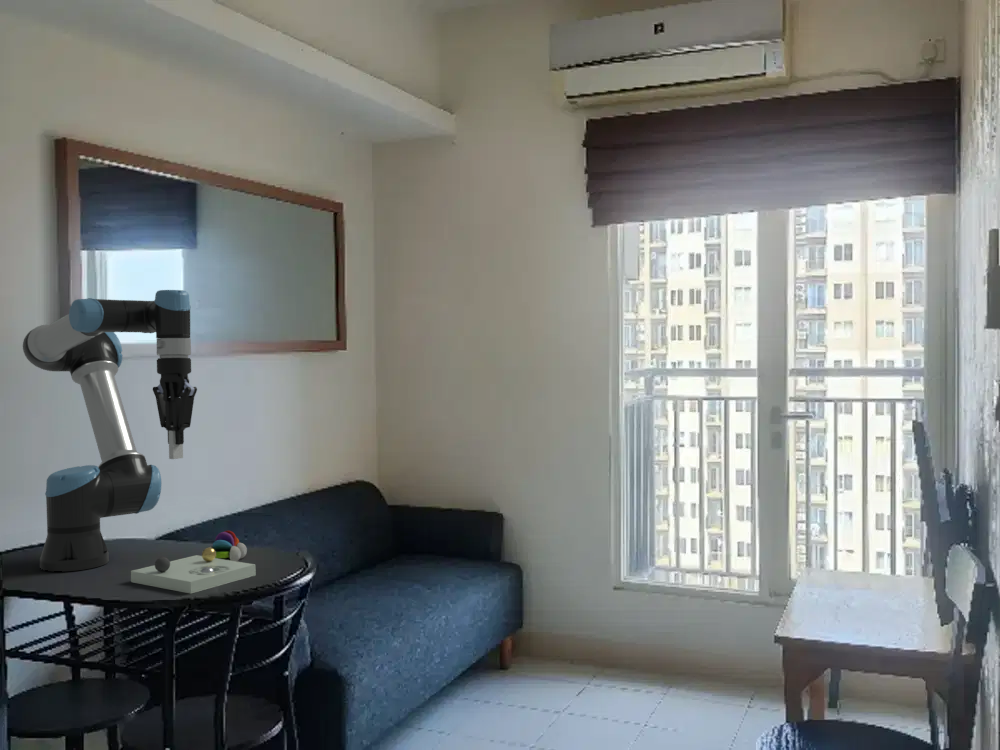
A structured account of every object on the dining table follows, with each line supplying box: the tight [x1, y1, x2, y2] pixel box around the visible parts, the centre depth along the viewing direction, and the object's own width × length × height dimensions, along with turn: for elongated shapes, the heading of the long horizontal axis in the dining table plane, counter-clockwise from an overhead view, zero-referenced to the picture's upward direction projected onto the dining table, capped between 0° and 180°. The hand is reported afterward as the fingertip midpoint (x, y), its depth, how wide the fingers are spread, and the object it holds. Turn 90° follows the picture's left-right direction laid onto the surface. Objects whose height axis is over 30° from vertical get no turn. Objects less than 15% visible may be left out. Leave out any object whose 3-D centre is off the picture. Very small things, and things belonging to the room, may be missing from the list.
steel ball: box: [201, 567, 215, 573], centre depth 203 cm, size 3×3×3 cm
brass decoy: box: [201, 546, 216, 562], centre depth 212 cm, size 3×3×3 cm
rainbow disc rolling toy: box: [209, 530, 248, 562], centre depth 224 cm, size 8×10×7 cm
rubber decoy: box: [154, 556, 170, 572], centre depth 202 cm, size 3×3×3 cm
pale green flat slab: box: [130, 554, 257, 594], centre depth 206 cm, size 20×18×2 cm
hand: (176, 458), depth 212 cm, fingers closed
